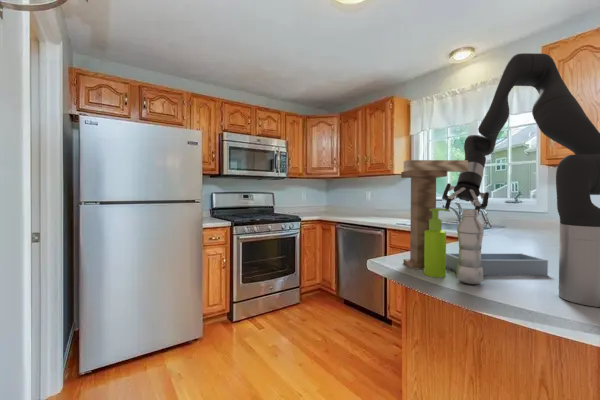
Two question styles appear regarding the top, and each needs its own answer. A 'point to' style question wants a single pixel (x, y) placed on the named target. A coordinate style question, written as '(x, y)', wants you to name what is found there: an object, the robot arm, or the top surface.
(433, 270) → the soap dispenser
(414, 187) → the walnut stand
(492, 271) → the slate tray
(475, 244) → the plastic bottle
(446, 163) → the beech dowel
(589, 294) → the robot arm
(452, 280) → the top surface
